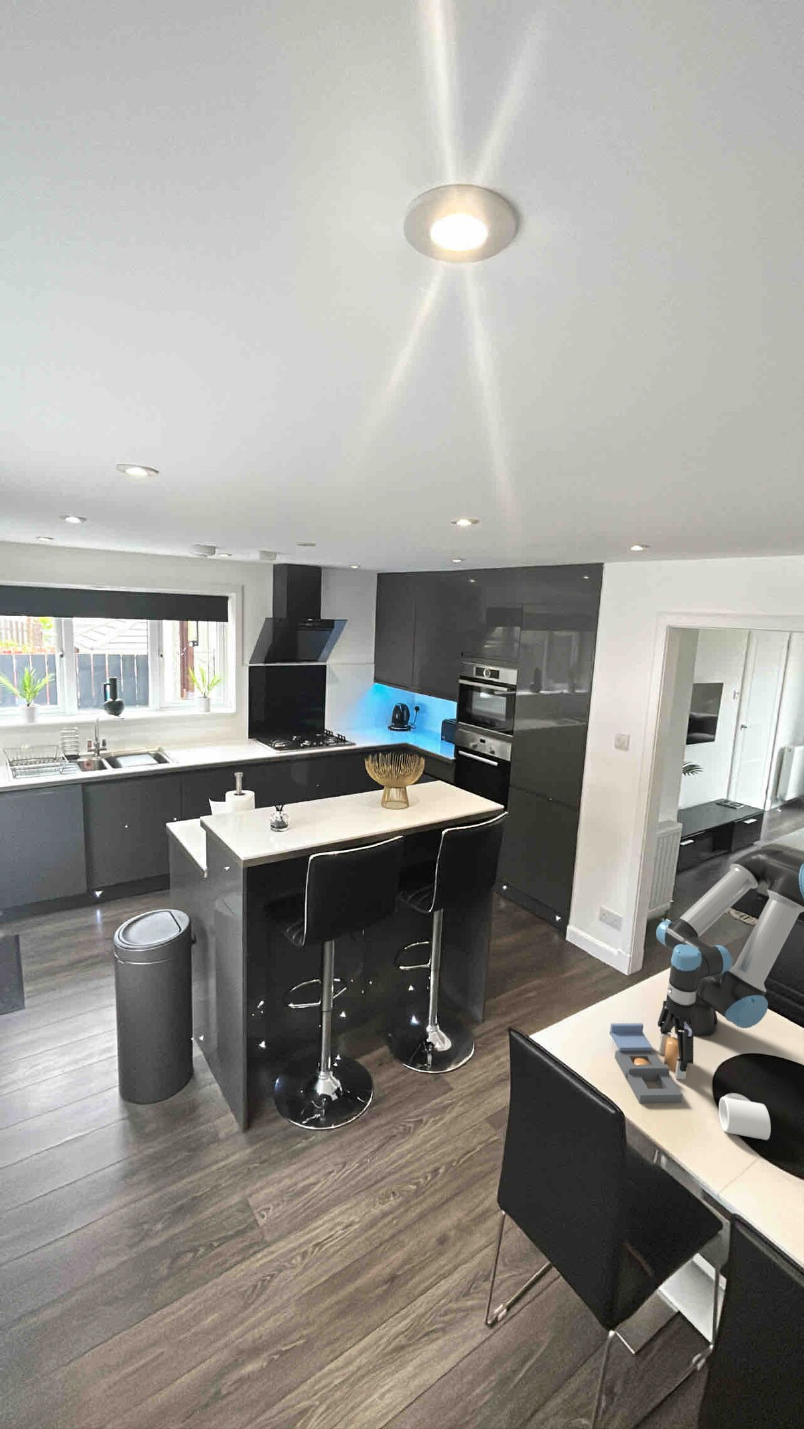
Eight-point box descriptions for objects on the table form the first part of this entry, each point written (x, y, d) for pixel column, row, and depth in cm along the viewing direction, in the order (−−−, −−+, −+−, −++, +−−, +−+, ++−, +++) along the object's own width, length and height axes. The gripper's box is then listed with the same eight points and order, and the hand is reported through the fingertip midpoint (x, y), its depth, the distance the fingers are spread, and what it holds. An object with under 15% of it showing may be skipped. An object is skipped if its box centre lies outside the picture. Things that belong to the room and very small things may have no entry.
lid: (640, 1033, 194) (642, 1023, 193) (652, 1050, 187) (653, 1040, 186) (609, 1033, 193) (610, 1023, 193) (619, 1051, 186) (620, 1040, 185)
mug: (768, 1147, 158) (772, 1121, 156) (726, 1139, 160) (730, 1113, 158) (752, 1110, 169) (756, 1085, 168) (712, 1103, 171) (716, 1078, 170)
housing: (653, 1057, 188) (654, 1045, 187) (681, 1102, 171) (683, 1089, 170) (614, 1057, 187) (616, 1045, 186) (639, 1103, 170) (641, 1089, 169)
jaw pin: (675, 1060, 187) (678, 1037, 185) (682, 1071, 183) (685, 1047, 181) (661, 1060, 187) (664, 1037, 185) (668, 1071, 182) (671, 1047, 181)
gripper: (651, 975, 191) (642, 1039, 195) (687, 1023, 169) (677, 1094, 173) (674, 975, 191) (666, 1039, 195) (714, 1023, 170) (703, 1094, 174)
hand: (671, 1065), depth 184 cm, fingers open, 9 cm apart
